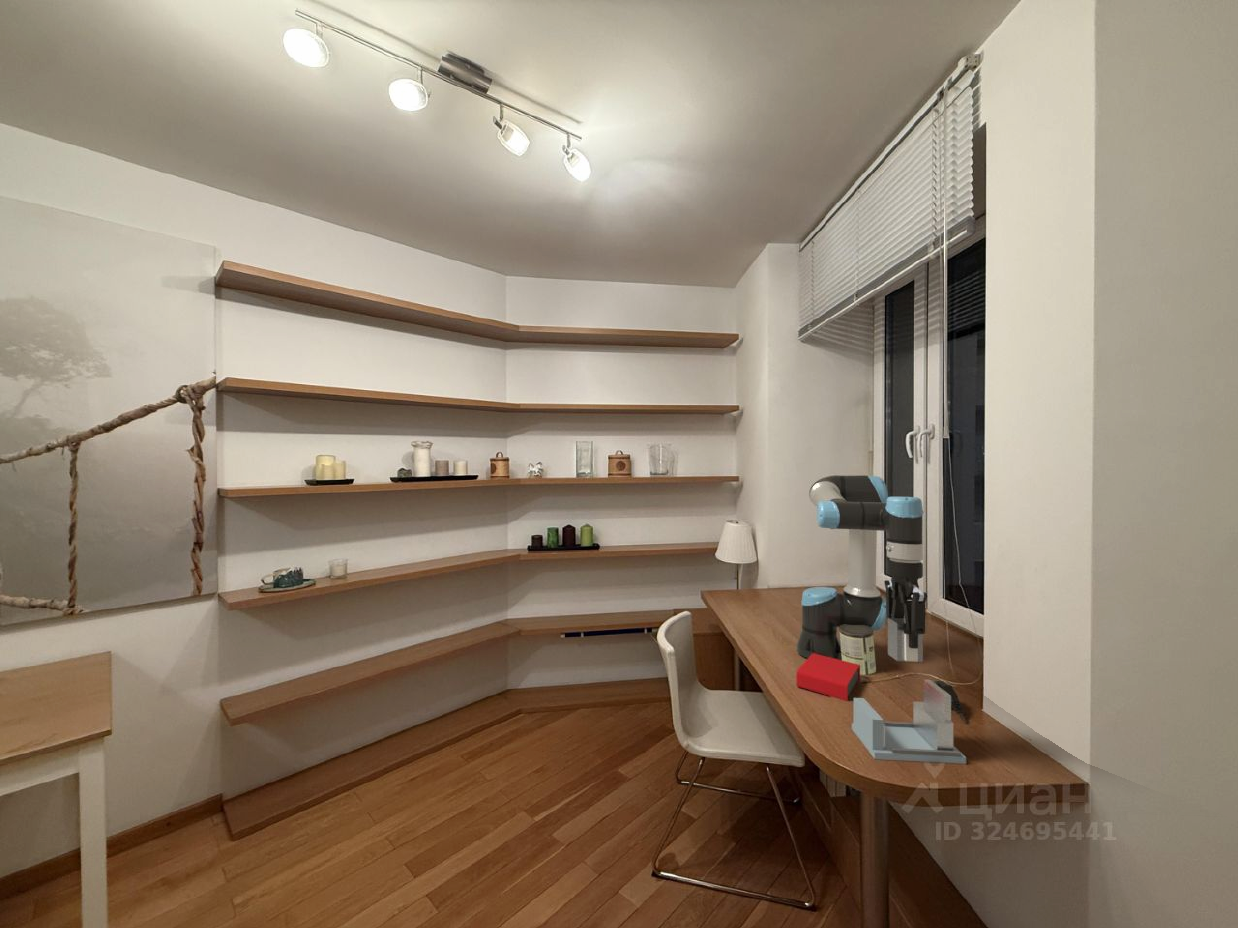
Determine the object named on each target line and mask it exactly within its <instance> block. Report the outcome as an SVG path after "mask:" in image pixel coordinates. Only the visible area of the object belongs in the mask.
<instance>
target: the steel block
mask: <svg viewBox="0 0 1238 928" xmlns="http://www.w3.org/2000/svg"><path fill="white" fill-rule="evenodd" d="M903 631H906V622H905V617H904V618H888V620H887V655H888V656H889V657H890V658H892V659H893V660H894V661H896V662H906V661H905V660H904V632H903ZM923 637H924V634H919V635H918V661H911V662H917V663H918V662H919V663H920V662H921V663H923V662H924V646H923V645H924V644H923V640H924V638H923Z"/></svg>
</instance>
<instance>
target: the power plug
mask: <svg viewBox="0 0 1238 928" xmlns="http://www.w3.org/2000/svg"><path fill="white" fill-rule="evenodd" d="M933 682H934V683H935V684H936V685H937V686H939V687H940V688H941V689H943V690H944V691H945V692H947V693H948V694H949V695H951V708H952V709H953V710H954V712H955V713H956V714H957V715H960V717H961V718H962V721H963V722H964V723H965V725H966V724H967V725H968V724H969V722H968V720H967V719H966V717H965V715H964V710H963V707H962V704H961V700H959V698H958V697H959V696H958V694H957V693H956V691H955V690H954V687H953V686H952V685H951V684H948V683H946V682H945V681H943V680H935V681H933Z"/></svg>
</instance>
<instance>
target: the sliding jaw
mask: <svg viewBox="0 0 1238 928" xmlns="http://www.w3.org/2000/svg"><path fill="white" fill-rule="evenodd" d="M934 682H935V681H932V680H931V679H924V678H923V701H912V703H913V711H912V712H913V718H912V719H913V720H912V721H913V722H912V723H913V727H914V728H915V729H916V730H917V731H918V732H919V733H920V734H921V735H922V736H923V737H924V738H925V739H926V740H927V741H928V742H929V743H930V744H931V745H932V746H933V747H934V748H935V749H936V750H942V751H953V746H954V723H953V722H952V706H951V695H949V694H948V693H947V692H945V691H944V690H943V689H941V688H940V687H939V686H937V685H936V684H935V683H934Z"/></svg>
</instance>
